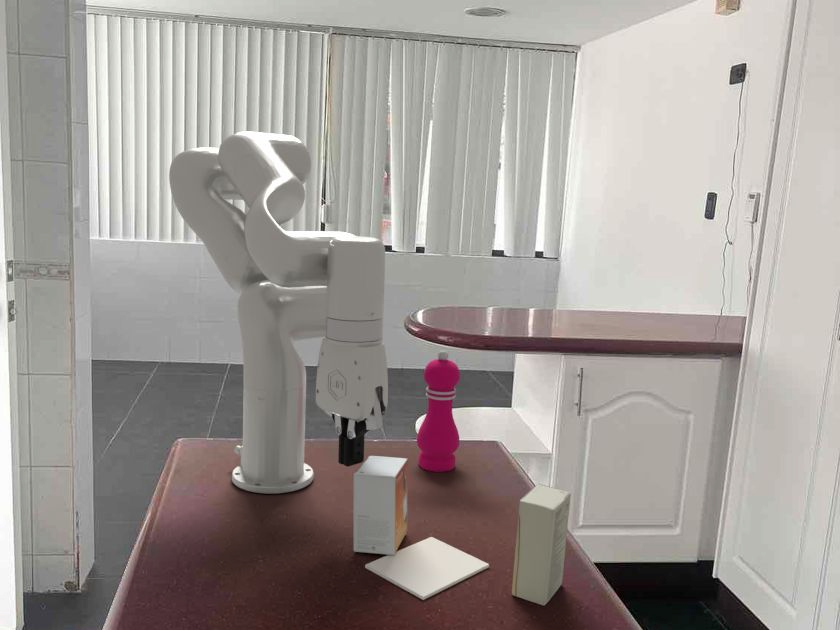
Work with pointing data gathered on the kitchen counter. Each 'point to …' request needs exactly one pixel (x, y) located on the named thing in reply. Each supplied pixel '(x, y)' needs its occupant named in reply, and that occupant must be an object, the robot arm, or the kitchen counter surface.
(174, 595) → the kitchen counter surface
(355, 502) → the small box
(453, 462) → the pepper mill
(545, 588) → the skincare box
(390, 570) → the mat
